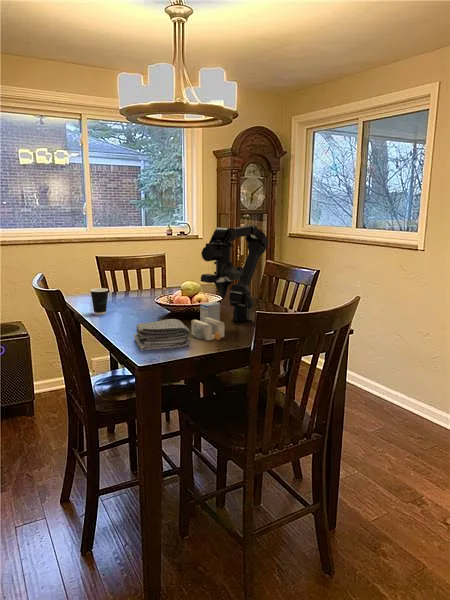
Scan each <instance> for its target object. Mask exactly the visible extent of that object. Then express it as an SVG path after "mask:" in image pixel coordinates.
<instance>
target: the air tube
mask: <svg viewBox="0 0 450 600" xmlns="http://www.w3.org/2000/svg"><path fill="white" fill-rule="evenodd" d="M210 324H211V325H212V335H214V334H215V332H218V325H216V324H213V323H210ZM193 337H194V338H195V337H196V339H199V340H202V339H205V327H202V326H199V325H198V326H194V335H193Z"/></svg>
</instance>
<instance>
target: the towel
mask: <svg viewBox="0 0 450 600" xmlns="http://www.w3.org/2000/svg"><path fill="white" fill-rule="evenodd" d="M136 333H137V334H133V338H134V339H135V342H136V344H137V346H138V347H139V348H140V350H141V351H142V350H146V351H150V350H149V349H158V350H163V349H162V348H169V349H176V348H175V347H180V348H184V347H188V346H189V344H190V343H191V339H190V338H189V336H191V331H190V329H189V327H187V325H185V324H184V323H183V322H182V321H181V320H180V319H176V318H170V319H169V318H168V319H161V320H156V321H152V322H151V321H150V322H143V323H142V322H141V323H138V324H137V325H136ZM147 349H148V350H147Z"/></svg>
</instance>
